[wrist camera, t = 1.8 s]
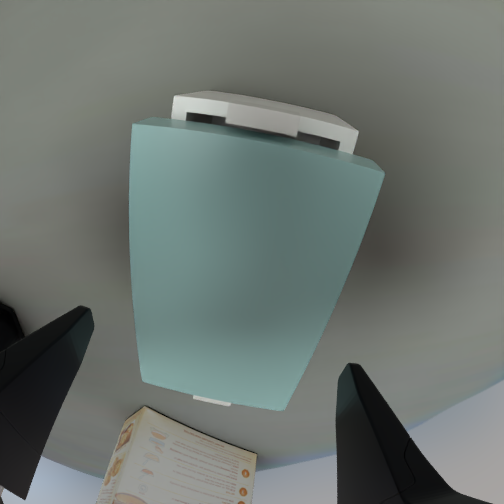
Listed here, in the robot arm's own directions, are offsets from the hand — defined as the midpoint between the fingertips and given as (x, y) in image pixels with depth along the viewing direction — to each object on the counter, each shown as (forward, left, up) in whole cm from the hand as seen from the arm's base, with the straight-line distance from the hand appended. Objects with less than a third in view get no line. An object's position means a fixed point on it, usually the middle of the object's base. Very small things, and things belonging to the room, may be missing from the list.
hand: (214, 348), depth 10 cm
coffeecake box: (-28, +2, -9) cm, 29 cm away
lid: (0, 0, -3) cm, 3 cm away
